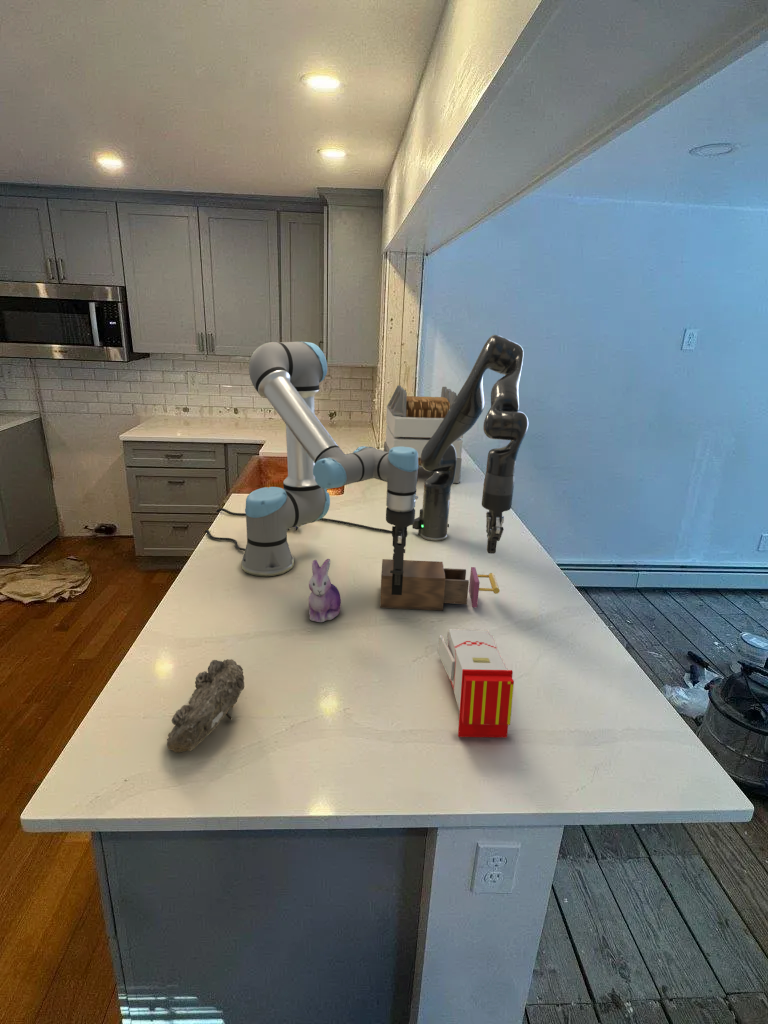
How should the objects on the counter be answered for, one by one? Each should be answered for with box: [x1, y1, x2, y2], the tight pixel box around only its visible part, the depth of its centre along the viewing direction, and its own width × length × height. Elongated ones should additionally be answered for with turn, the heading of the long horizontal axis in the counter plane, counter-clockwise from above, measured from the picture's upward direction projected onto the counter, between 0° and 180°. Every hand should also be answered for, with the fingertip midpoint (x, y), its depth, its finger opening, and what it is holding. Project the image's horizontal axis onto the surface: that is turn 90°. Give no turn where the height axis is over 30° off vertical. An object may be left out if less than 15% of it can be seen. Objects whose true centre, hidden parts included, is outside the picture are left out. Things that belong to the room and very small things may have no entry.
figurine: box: [308, 558, 342, 623], centre depth 143 cm, size 9×10×15 cm
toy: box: [437, 628, 515, 738], centre depth 117 cm, size 12×13×30 cm
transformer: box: [383, 384, 464, 484], centre depth 268 cm, size 34×33×41 cm
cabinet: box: [379, 558, 445, 611], centre depth 153 cm, size 17×10×9 cm, turn 88°
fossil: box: [166, 658, 245, 754], centre depth 106 cm, size 22×10×15 cm
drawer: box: [443, 566, 501, 608], centre depth 153 cm, size 21×9×8 cm, turn 88°
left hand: (396, 584), depth 154 cm, fingers closed on cabinet, 10 cm apart
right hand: (490, 552), depth 150 cm, fingers closed
